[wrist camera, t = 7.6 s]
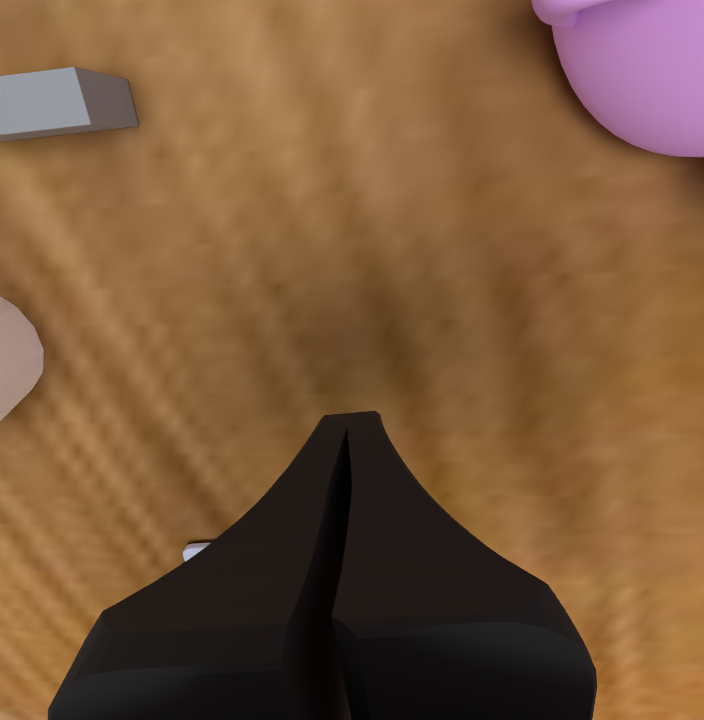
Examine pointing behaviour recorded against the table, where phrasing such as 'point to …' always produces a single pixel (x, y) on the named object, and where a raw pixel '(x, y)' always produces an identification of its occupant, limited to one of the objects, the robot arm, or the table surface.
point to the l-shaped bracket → (63, 103)
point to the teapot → (635, 67)
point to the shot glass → (17, 357)
